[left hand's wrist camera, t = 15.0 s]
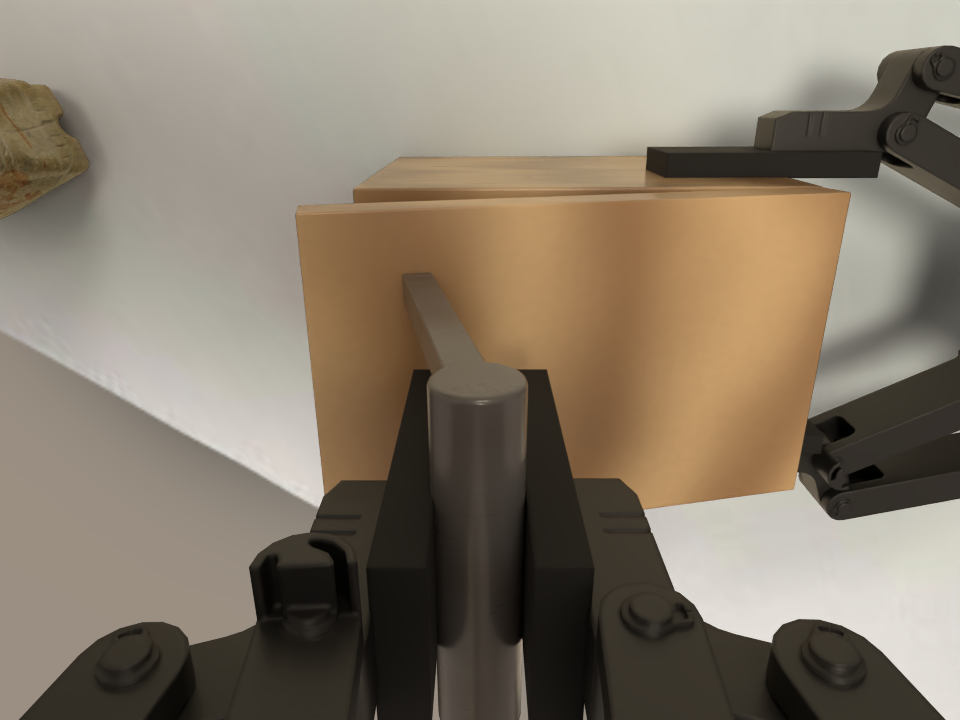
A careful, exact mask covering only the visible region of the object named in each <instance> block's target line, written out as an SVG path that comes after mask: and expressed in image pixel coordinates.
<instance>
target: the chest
mask: <svg viewBox="0 0 960 720" xmlns="http://www.w3.org/2000/svg"><path fill="white" fill-rule="evenodd" d="M646 160H647V156H571V157H399V158H398V159H396V160H395V161H393V162H392V163H390V164H389V165H387V166H386V167H385V168H383V169H382V170H380V171H379V172H377V173H376V174H374V175H373V176H371V177H370V178H369V179H367V180H366V181H364V182H363V183H361V184H360V185H358V186H357V187H356V188H354V189H353V199H354V203H382V202H410V201H439V200H467V199H495V198H524V197H552V196H580V195H609V194H637V193H666V192H694V191H722V190H751V189H779V188H807V187H821V186H818V185H814V184H810V183H807V182H803V181H799V180H795V179H791V178H788V177H744V178H665V177H662V176H660V175H658V174H656V173H653V172H651V171H649V170H647V169H646Z"/></svg>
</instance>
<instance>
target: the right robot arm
mask: <svg viewBox="0 0 960 720" xmlns="http://www.w3.org/2000/svg"><path fill="white" fill-rule="evenodd" d="M877 78H878V84H877V86H876V88H875V90H874V92H873V93H872V95H871V96H870V98H869V99H868V100H867V101H866V102H865V103H864V104H863V105H861V106H860V107H858V108H855V109H853V110H846V111H773V112H770V113H768V114H765V115H763V116H760V117H758V123H757V130H756V137H755V144H754V147H648V148H647V160H646V169H647V170H649V171H651V172H653V173H656V174H658V175H660V176H662V177H665V178H744V177H788V178H877V177H878V172H879V167H880V162H881V163H883V164H885V165H886V166H888V167H890V168H892V169H893V170H895V171H897V172H899V173H900V174H902V175H904V176H906V177H907V178H909V179H911V180H912V181H914V182H916V183H918V184H919V185H921V186H923V187H925V188H926V189H928V190H930V191H932V192H933V193H935V194H937V195H939V196H940V197H942V198H944V199H946V200H947V201H949V202H951V203H953V204H954V205H956V206H958V207H960V138H959V137H957V136H955V135H954V134H952V133H950V132H949V131H947V130H945V129H944V128H942V127H940V126H938V125H937V124H935V123H933V122H932V121H930V120H928V119H927V118H926V116H927V115H928V113H929V111H930V109H931V108H932V106H933V104H934V102H935V103H939V104H943V105H947V106H951V107H955V108H959V109H960V48H959V47H955V46H937V47H928V48H919V49H911V50H902V51H896V52H893V53H891V54H889V55H888V56H887V57H885V58H884V59H883V60H882V62H881V64H880V65H879V68H878V72H877ZM959 430H960V350H959V351H958V356H957V357H956V358H955V359H952V360H950V361H948V362H945V363H943V364H940V365H938V366H936V367H933V368H931V369H928V370H926V371H924V372H921V373H919V374H916V375H914V376H911V377H909V378H907V379H904V380H902V381H899V382H897V383H895V384H892V385H890V386H887V387H885V388H882V389H880V390H878V391H875V392H873V393H870V394H868V395H866V396H863V397H861V398H858V399H856V400H854V401H851V402H849V403H846V404H844V405H841V406H839V407H837V408H834V409H832V410H829V411H827V412H825V413H822V414H820V415H817V416H815V417H812V418H810V419H807V424H806V429H805V434H804V439H803V445H802V450H801V455H800V460H799V465H798V470H797V472H799V479H800V481H801V483H802V484H803V485H804V486H805V487H806V489H807V490H808V491H809V492H810V493H811V495H812V496H813V497H814V498H815V500H816V501H817V502H818V503H819V504H820V506H821V507H822V508H823V509H824V510H825V512H826V513H827V514H828V515H829V516H830V517H831V518H833V519H835V520H846V519H851V518H857V517H862V516H867V515H873V514H878V513H884V512H889V511H895V510H900V509H905V508H911V507H916V506H922V505H927V504H933V503H938V502H944V501H949V500H954V499H960V433H954V432H957V431H959ZM951 433H954V434H951Z"/></svg>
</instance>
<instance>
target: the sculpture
mask: <svg viewBox="0 0 960 720" xmlns="http://www.w3.org/2000/svg"><path fill="white" fill-rule="evenodd" d="M62 115H63V110H62V108H61V106H60V104H59V102H58V101H57V99H56V98H55V96H54V95H53V93H52V92H51V90H50V89H49V88H48V87H47V86H45V85H29V84H28V83H26V82H24V81H20V80H14V79H1V78H0V219H2V218H5V217H7V216H9V215H11V214H13V213H15V212H16V211H18V210H20V209H22V208H24V207H25V206H27V205H29V204H30V203H32V202H33V201H35V200H37V199H38V198H40V197H41V196H43V195H44V194H46V193H48V192H49V191H51V190H52V189H54V188H56V187H58V186H60V185H62V184H64V183H65V182H67V181H69V180H70V179H72V178H74V177H76V176H78V175H79V174H81V173H83V172H84V171H85V170H87V168H88V167H89V163H88V159H87V157H86V155H85V153H84V150H83V148H82V146H81V144H80V142H79V141H78V140H77V139H76V138H74V137H72V136H69V135H68V134H67V133H65V132H64V131H63V130H62V128H61V127H60V125H59V122H58V119H59V118H61V116H62Z"/></svg>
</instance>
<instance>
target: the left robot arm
mask: <svg viewBox="0 0 960 720" xmlns="http://www.w3.org/2000/svg"><path fill="white" fill-rule="evenodd" d="M516 370H518V371H520V372H521V373H522V374H523V375H524V376H525V378H526V380H527V382H528V418H527V461H526V504H525V546H524V585H523V625H522V642H523V655H524V668H525V681H526V694H527V707H528V720H583V712H584V704H585V709H586V715H587V720H945V719H944V718H943V717H942V716H941V714H940V713H939V712H938V711H937V710H936V709H935V708H934V707H933V706H932V705H931V704H930V703H929V702H928V701H927V700H926V698H925V697H924V696H923V695H922V694H921V693H920V692H919V691H918V690H917V689H916V688H915V687H914V686H913V685H912V684H911V682H910V681H909V680H908V679H907V678H906V677H905V676H904V675H903V674H902V673H901V672H900V671H899V670H898V669H897V668H896V667H895V665H894V664H893V663H892V662H891V661H890V660H889V659H888V658H887V657H886V656H885V655H884V654H883V653H882V652H881V651H880V650H879V649H878V648H876V647H875V646H874V645H873V644H872V643H870V642H869V641H868V640H867V639H865V638H864V637H863V636H861V635H859V634H857V633H855V632H853V631H851V630H849V629H847V628H845V627H843V626H840V625H837V624H833V623H829V622H826V621H822V620H809V619H798V620H795V621H792V622H789V623H786V624H783V625H782V626H781V627H780V628H779V629H778V630H777V632H776V633H775V634H774V635H773V640H772V643H769V642H765V641H761V640H757V639H753V638H749V637H744V636H740V635H736V634H733V633H730V632H727V631H724V630H720V629H718V628H716V627H714V626H712V625H710V624H708V623H706V622H704V621H703V619H702V617H701V615H700V614H699V612H698V610H697V609H696V607H695V605H694V604H693V603H691V602H690V601H689V600H688V599H686V598H685V597H684V596H683V595H682V594H680V593H679V592H676V591H675V590H674V587H673V585H672V582H671V580H670V577H669V575H668V572H667V569H666V567H665V564H664V562H663V559H662V557H661V554H660V551H659V549H658V546H657V544H656V541H655V539H654V536H653V534H652V533H651V528H650V526H649V523H648V521H647V518H646V517H645V513H644V511H643V508H642V505H641V503H640V500H639V498H638V495H637V494H636V493H635V492H634V491H633V490H632V489H631V488H630V487H628V486H627V485H626V484H625V483H624V482H623V481H622V480H621V479H620V478H573V476H572V472H571V467H570V463H569V459H568V455H567V451H566V447H565V442H564V438H563V434H562V430H561V426H560V422H559V418H558V413H557V409H556V405H555V401H554V397H553V393H552V388H551V384H550V380H549V376H548V372H547V369H516ZM431 375H432V374H431V371H430V369H414V370H413V374H412V378H411V383H410V387H409V391H408V395H407V399H406V403H405V408H404V412H403V416H402V420H401V424H400V428H399V433H398V437H397V441H396V445H395V449H394V453H393V457H392V462H391V466H390V470H389V474H388V478H387V480H341V481H340V482H339V483H338V484H337V485H336V486H335V487H334V488H332V489H331V490H330V491H329V492H328V493H327V494H326V495H325V496H324V497H323V499H322V502H321V504H320V507H319V510H318V512H317V515H316V519H315V520H314V522H313V525H312V528H311V530H310V533H304V534H298V535H292V536H289V537H287V538H284V539H282V540H279V541H277V542H274V543H272V544H271V545H270V546H268V547H267V548H265V549H264V550H263V551H261V552H260V553H259V554H258V555H257V556H256V558H255V559H254V561H253V562H252V563H251V565H250V567H249V570H250V577H251V583H252V589H253V596H254V602H255V609H256V615H257V622H256V625H254V626H252V627H250V628H248V629H246V630H244V631H242V632H239V633H236V634H233V635H230V636H227V637H223V638H219V639H215V640H211V641H206V642H202V643H198V644H194V645H190V646H189V642H188V638H187V637H186V635H185V634H184V633H183V632H182V631H181V630H180V628H179V627H176V626H173V625H170V624H167V623H164V622H142V623H138V624H134V625H131V626H127V627H123V628H120V629H118V630H116V631H114V632H112V633H110V634H108V635H106V636H104V637H102V638H100V639H98V640H97V641H96V642H94V643H93V644H92V645H91V646H90V647H88V648H87V649H86V650H85V651H84V652H82V653H81V654H80V655H79V656H78V657H77V658H76V659H75V660H74V661H73V662H72V663H71V665H70V666H69V667H68V668H67V669H66V670H65V671H64V672H63V673H62V674H61V675H60V676H59V677H58V678H57V680H56V681H55V682H54V683H53V684H52V685H51V686H50V687H49V688H48V689H47V690H46V691H45V692H44V693H43V695H42V696H41V697H40V698H39V699H38V700H37V701H36V702H35V703H34V704H33V705H32V706H31V707H30V708H29V710H28V711H27V712H26V713H25V714H24V715H23V716H22V717H21V718H20V719H19V720H374V716H375V710H376V705H377V718H378V720H432V714H433V701H434V688H435V675H436V662H437V649H438V632H437V599H436V567H435V534H434V502H433V500H432V497H431V492H430V465H429V438H428V411H427V382H428V380H429V378H430V376H431Z"/></svg>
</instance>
